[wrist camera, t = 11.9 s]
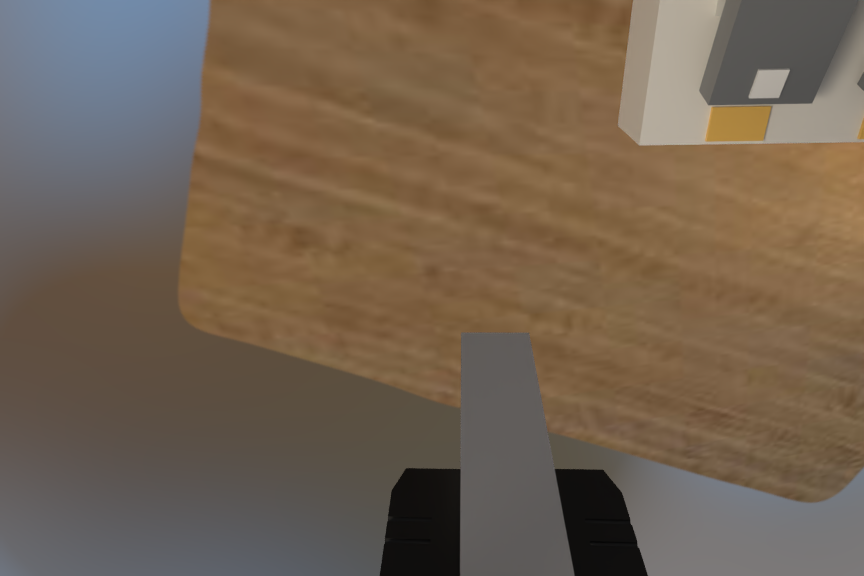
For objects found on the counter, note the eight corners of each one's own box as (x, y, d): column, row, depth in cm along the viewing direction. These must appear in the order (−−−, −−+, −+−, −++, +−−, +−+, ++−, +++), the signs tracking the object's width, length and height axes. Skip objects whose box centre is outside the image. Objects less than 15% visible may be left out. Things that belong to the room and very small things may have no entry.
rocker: (761, -120, 23) (778, -111, 22) (889, -125, 23) (913, -117, 22) (698, 90, 30) (709, 106, 28) (798, 88, 29) (813, 104, 28)
